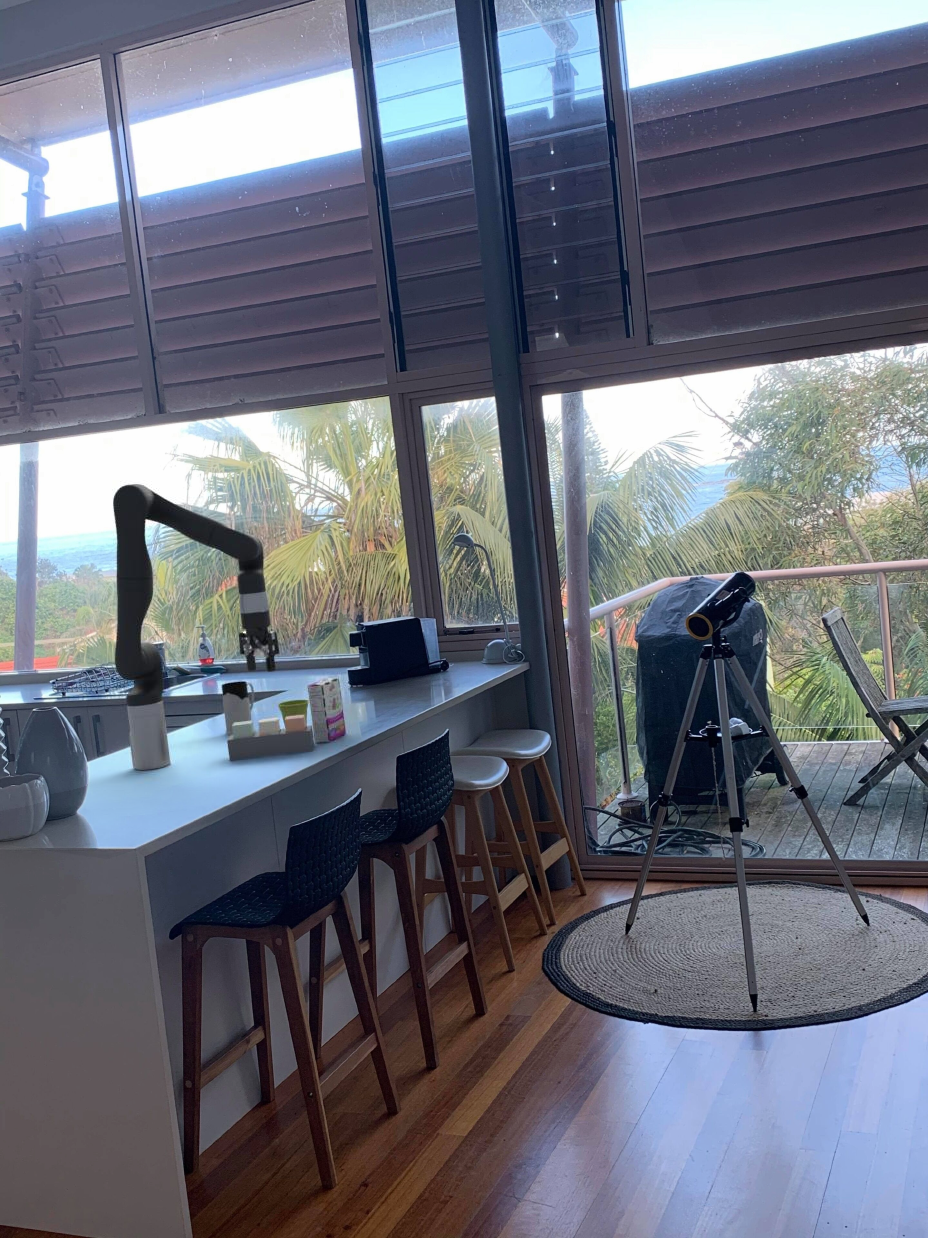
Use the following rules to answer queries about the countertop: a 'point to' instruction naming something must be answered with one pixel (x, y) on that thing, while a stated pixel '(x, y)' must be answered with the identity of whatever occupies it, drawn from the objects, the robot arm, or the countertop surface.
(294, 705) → the plant pot
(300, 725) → the key terracotta
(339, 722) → the candy bar box
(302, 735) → the grey long block
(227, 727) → the pitcher
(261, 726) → the key sand
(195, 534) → the robot arm
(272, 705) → the countertop surface
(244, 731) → the key sage
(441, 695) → the countertop surface
